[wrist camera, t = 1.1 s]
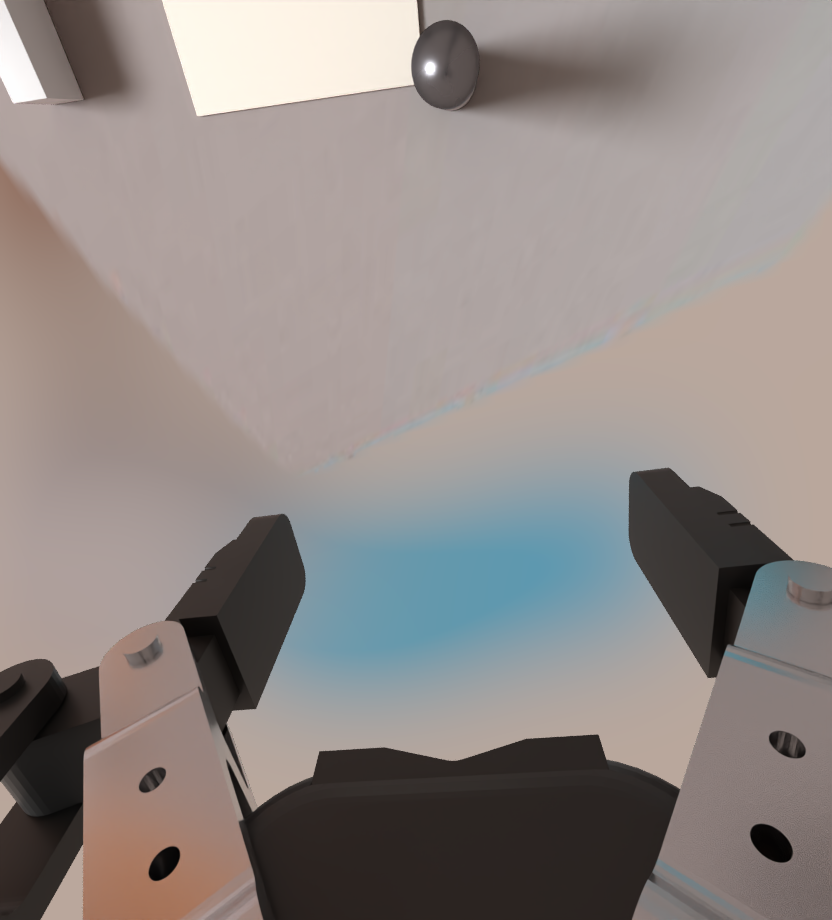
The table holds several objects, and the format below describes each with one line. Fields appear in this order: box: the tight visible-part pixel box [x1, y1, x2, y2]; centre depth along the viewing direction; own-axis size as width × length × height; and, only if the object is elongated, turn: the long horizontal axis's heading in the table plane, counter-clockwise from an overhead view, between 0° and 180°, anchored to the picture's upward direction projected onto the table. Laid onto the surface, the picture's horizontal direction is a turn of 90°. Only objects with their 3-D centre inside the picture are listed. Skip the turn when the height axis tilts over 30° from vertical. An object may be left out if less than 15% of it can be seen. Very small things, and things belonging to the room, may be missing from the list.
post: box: [411, 20, 479, 111], centre depth 22 cm, size 3×3×9 cm
